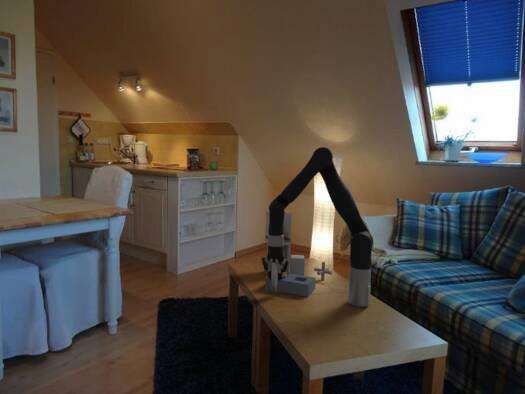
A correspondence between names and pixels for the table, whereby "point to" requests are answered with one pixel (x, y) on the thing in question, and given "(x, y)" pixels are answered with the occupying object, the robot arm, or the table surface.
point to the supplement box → (297, 264)
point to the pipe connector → (323, 271)
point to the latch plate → (285, 274)
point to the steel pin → (274, 277)
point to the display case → (286, 236)
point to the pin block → (294, 285)
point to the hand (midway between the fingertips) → (275, 279)
